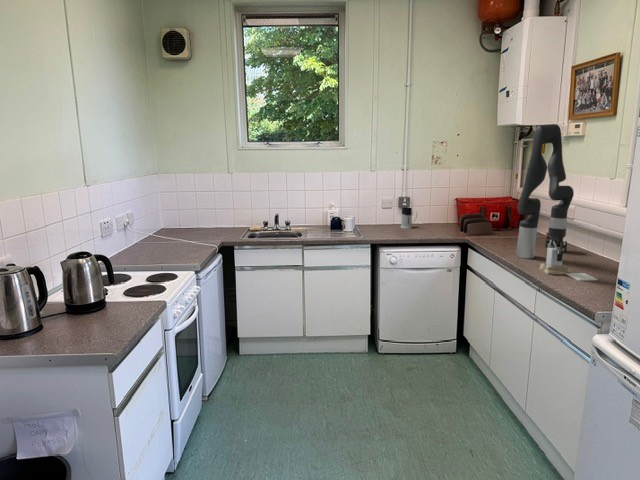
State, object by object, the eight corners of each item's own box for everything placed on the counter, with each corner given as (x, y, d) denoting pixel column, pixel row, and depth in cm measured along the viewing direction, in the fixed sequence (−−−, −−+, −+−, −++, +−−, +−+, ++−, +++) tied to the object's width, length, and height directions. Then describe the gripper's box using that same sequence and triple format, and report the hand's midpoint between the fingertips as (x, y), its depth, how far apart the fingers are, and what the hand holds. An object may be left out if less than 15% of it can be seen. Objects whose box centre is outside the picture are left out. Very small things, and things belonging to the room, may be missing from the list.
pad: (565, 274, 214) (566, 273, 214) (583, 274, 215) (583, 273, 215) (578, 280, 205) (578, 279, 205) (597, 280, 205) (597, 279, 205)
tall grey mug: (405, 225, 348) (406, 207, 345) (419, 228, 338) (420, 208, 335) (398, 227, 343) (398, 208, 340) (412, 229, 332) (413, 210, 329)
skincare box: (556, 270, 222) (558, 247, 219) (561, 273, 217) (564, 249, 215) (544, 271, 221) (546, 247, 219) (549, 273, 217) (552, 249, 214)
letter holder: (459, 233, 320) (460, 213, 317) (483, 231, 324) (484, 212, 322) (467, 235, 310) (468, 215, 307) (491, 234, 315) (493, 214, 312)
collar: (539, 270, 223) (540, 263, 222) (558, 269, 223) (558, 263, 222) (547, 274, 215) (548, 267, 215) (567, 273, 216) (567, 267, 215)
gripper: (542, 224, 221) (539, 255, 224) (558, 229, 207) (555, 262, 210) (556, 224, 222) (553, 255, 225) (574, 229, 208) (570, 262, 211)
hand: (554, 259), depth 218 cm, fingers open, 8 cm apart
